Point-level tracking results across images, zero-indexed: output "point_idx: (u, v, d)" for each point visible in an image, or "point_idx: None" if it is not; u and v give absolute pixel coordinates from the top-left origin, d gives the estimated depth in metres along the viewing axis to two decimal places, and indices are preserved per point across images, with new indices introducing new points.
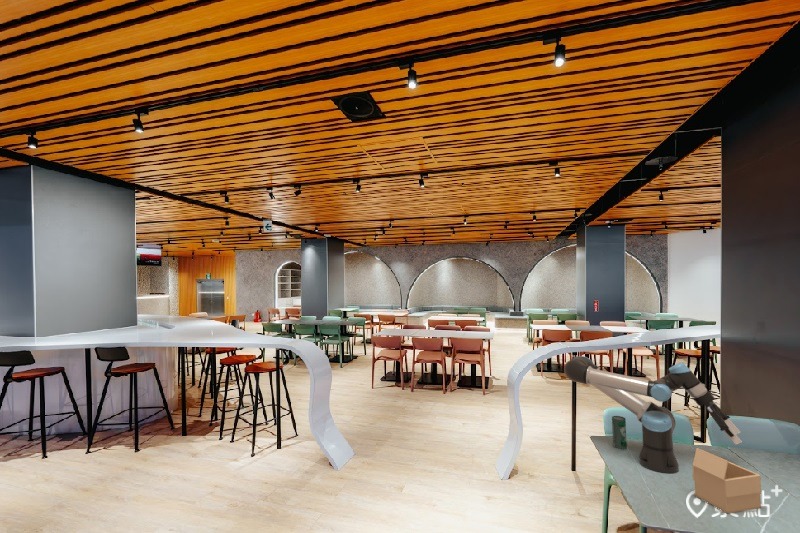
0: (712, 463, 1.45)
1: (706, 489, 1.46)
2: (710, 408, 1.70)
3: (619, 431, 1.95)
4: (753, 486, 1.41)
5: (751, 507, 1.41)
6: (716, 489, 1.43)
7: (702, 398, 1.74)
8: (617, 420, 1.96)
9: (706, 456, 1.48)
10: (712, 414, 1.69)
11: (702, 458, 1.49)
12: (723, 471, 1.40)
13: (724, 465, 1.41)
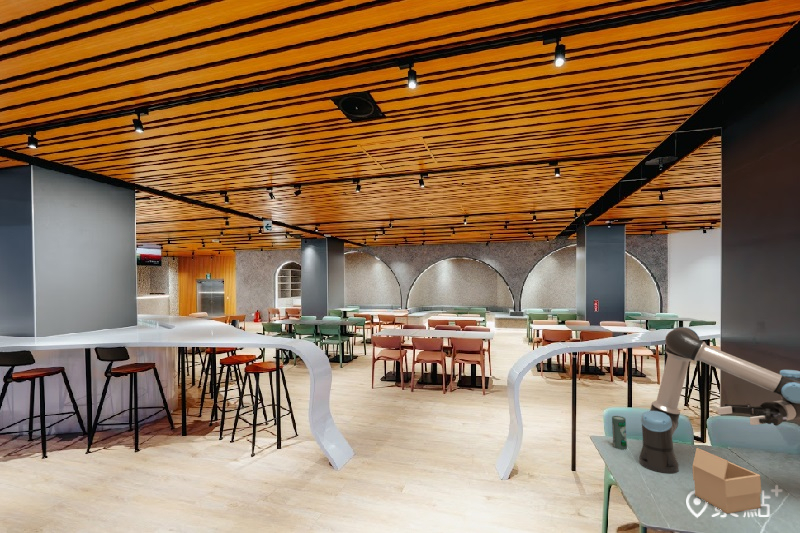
0: (712, 463, 1.45)
1: (706, 489, 1.46)
2: (785, 419, 1.46)
3: (619, 431, 1.95)
4: (753, 486, 1.41)
5: (751, 507, 1.41)
6: (716, 489, 1.43)
7: (786, 414, 1.50)
8: (617, 420, 1.96)
9: (706, 456, 1.48)
10: (782, 417, 1.45)
11: (702, 458, 1.49)
12: (723, 471, 1.40)
13: (724, 465, 1.41)
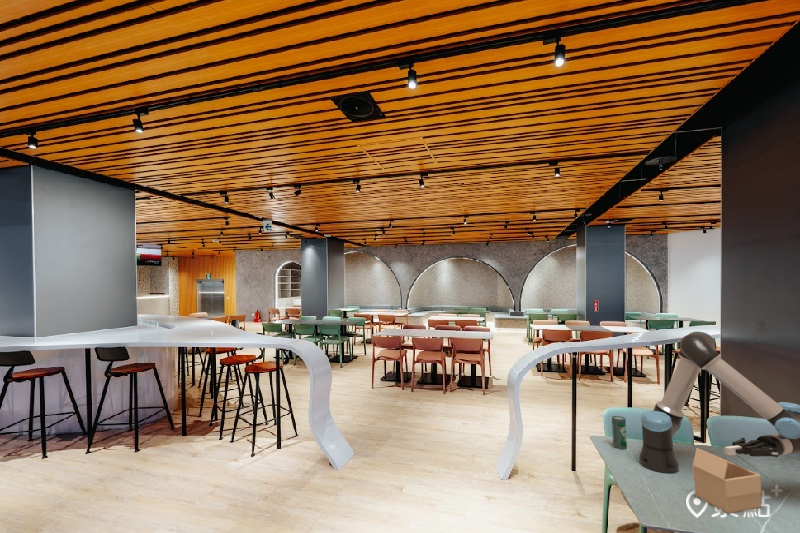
0: (712, 463, 1.45)
1: (706, 489, 1.46)
2: (776, 454, 1.45)
3: (619, 431, 1.95)
4: (753, 486, 1.41)
5: (751, 507, 1.41)
6: (716, 489, 1.43)
7: (782, 449, 1.49)
8: (617, 420, 1.96)
9: (706, 456, 1.48)
10: (768, 451, 1.46)
11: (702, 458, 1.49)
12: (723, 471, 1.40)
13: (724, 465, 1.41)
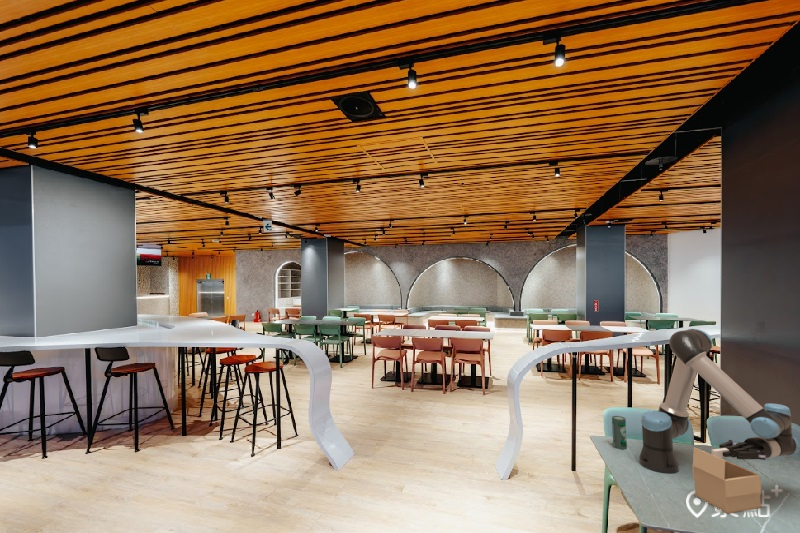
0: (710, 463, 1.45)
1: (706, 489, 1.46)
2: (763, 457, 1.42)
3: (619, 431, 1.95)
4: (753, 486, 1.41)
5: (751, 507, 1.41)
6: (716, 489, 1.43)
7: (770, 452, 1.46)
8: (617, 420, 1.96)
9: (704, 456, 1.47)
10: (756, 454, 1.42)
11: (700, 458, 1.48)
12: (722, 471, 1.40)
13: (722, 465, 1.41)
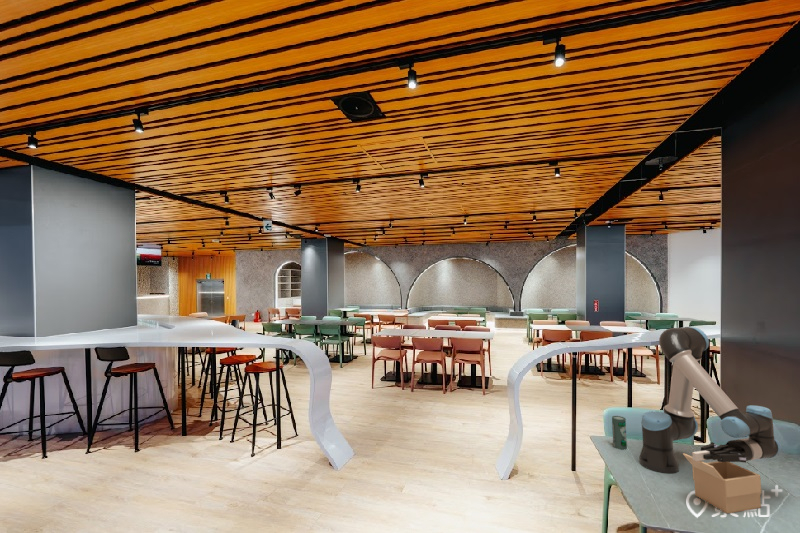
0: (705, 467, 1.44)
1: (706, 489, 1.46)
2: (744, 460, 1.41)
3: (619, 431, 1.95)
4: (753, 486, 1.41)
5: (751, 507, 1.41)
6: (716, 489, 1.43)
7: (751, 454, 1.45)
8: (617, 420, 1.96)
9: (695, 461, 1.46)
10: (736, 457, 1.41)
11: (694, 462, 1.48)
12: (718, 475, 1.40)
13: (714, 470, 1.40)
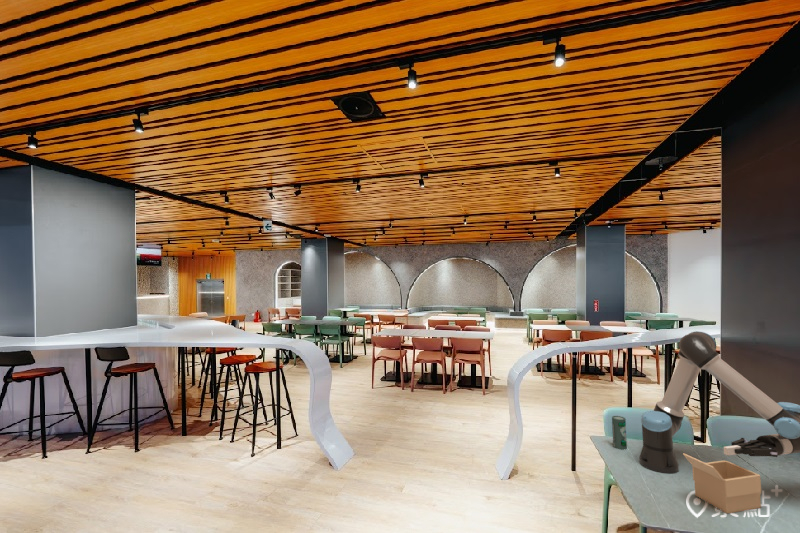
0: (705, 467, 1.44)
1: (706, 489, 1.46)
2: (775, 454, 1.45)
3: (619, 431, 1.95)
4: (753, 486, 1.41)
5: (751, 507, 1.41)
6: (716, 489, 1.43)
7: (782, 449, 1.48)
8: (617, 420, 1.96)
9: (695, 461, 1.46)
10: (768, 451, 1.45)
11: (694, 462, 1.48)
12: (718, 475, 1.40)
13: (714, 470, 1.40)
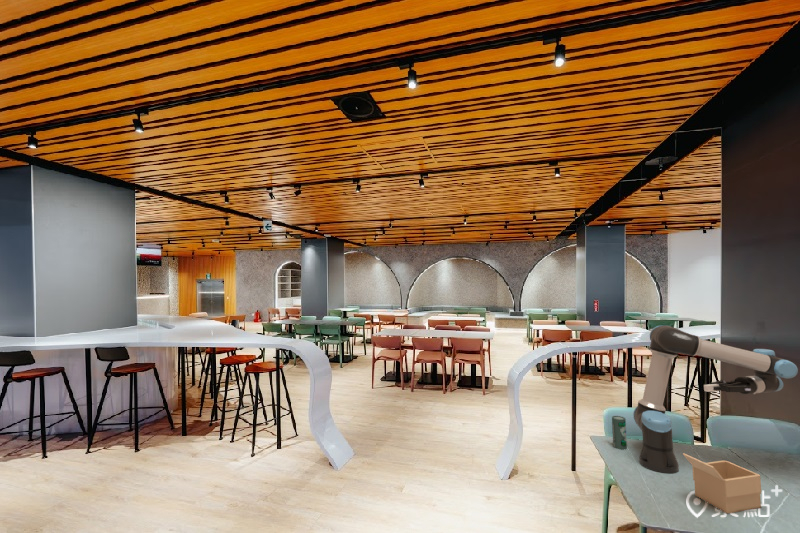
0: (705, 467, 1.44)
1: (706, 489, 1.46)
2: (749, 390, 1.65)
3: (619, 431, 1.95)
4: (753, 486, 1.41)
5: (751, 507, 1.41)
6: (716, 489, 1.43)
7: (756, 387, 1.69)
8: (617, 420, 1.96)
9: (695, 461, 1.46)
10: (742, 388, 1.66)
11: (694, 462, 1.48)
12: (718, 475, 1.40)
13: (714, 470, 1.40)
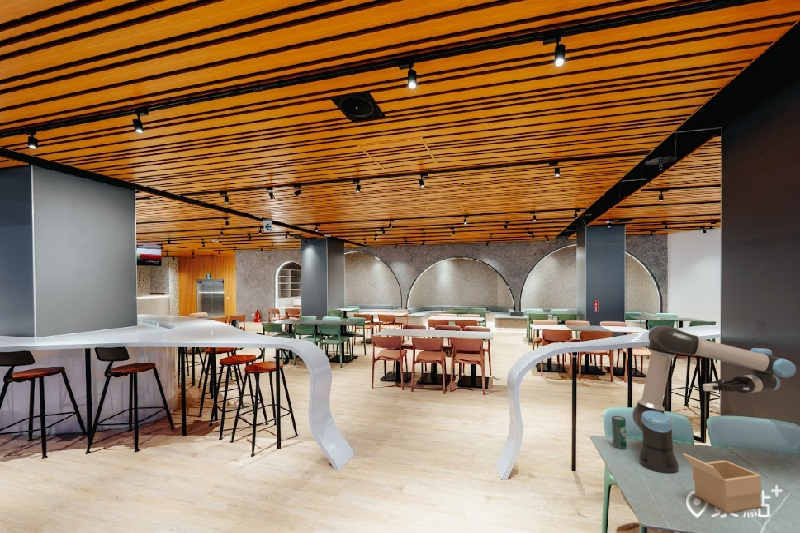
0: (705, 467, 1.44)
1: (706, 489, 1.46)
2: (747, 389, 1.66)
3: (619, 431, 1.95)
4: (753, 486, 1.41)
5: (751, 507, 1.41)
6: (716, 489, 1.43)
7: (753, 386, 1.70)
8: (617, 420, 1.96)
9: (695, 461, 1.46)
10: (741, 387, 1.67)
11: (694, 462, 1.48)
12: (718, 475, 1.40)
13: (714, 470, 1.40)
